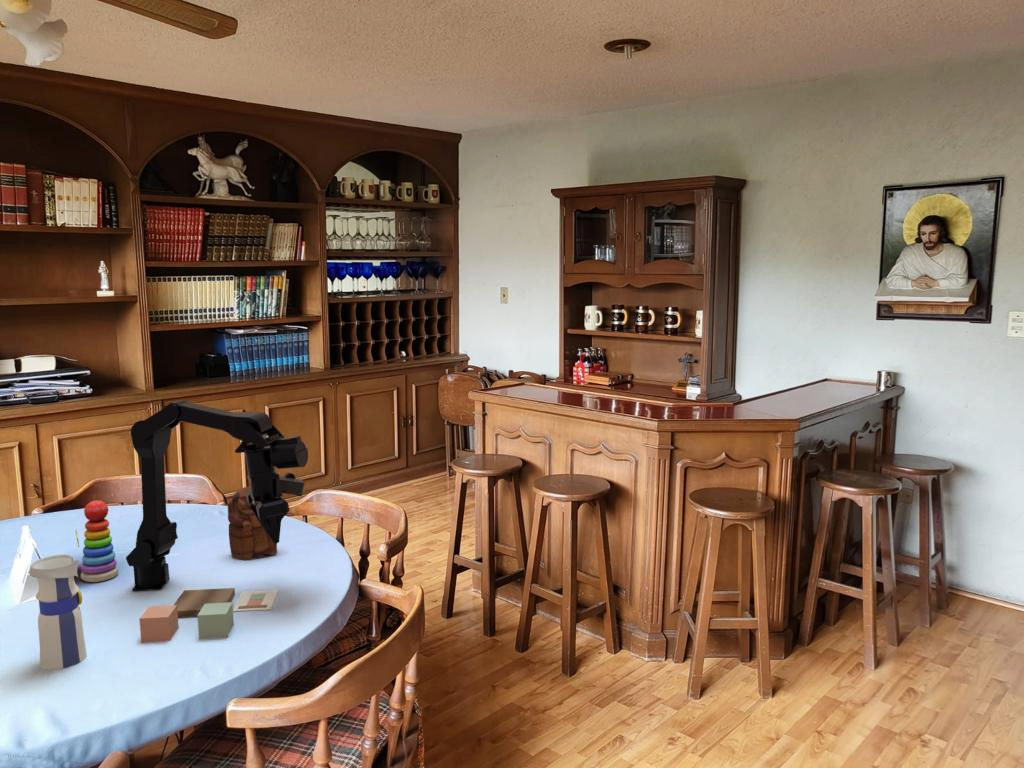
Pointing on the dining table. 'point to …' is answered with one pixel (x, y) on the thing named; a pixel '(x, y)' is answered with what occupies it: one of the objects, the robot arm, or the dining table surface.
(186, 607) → the walnut plate
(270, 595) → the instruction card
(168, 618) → the terracotta block
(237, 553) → the wooden figurine
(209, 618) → the sage block
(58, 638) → the beige and blue vase
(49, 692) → the dining table surface
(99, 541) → the stacking toy
